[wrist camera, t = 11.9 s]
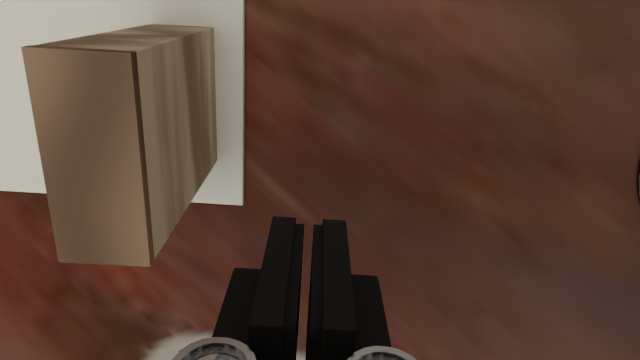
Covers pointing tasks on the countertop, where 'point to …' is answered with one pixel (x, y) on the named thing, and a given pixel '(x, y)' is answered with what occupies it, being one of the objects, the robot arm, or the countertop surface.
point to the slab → (123, 136)
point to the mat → (104, 16)
